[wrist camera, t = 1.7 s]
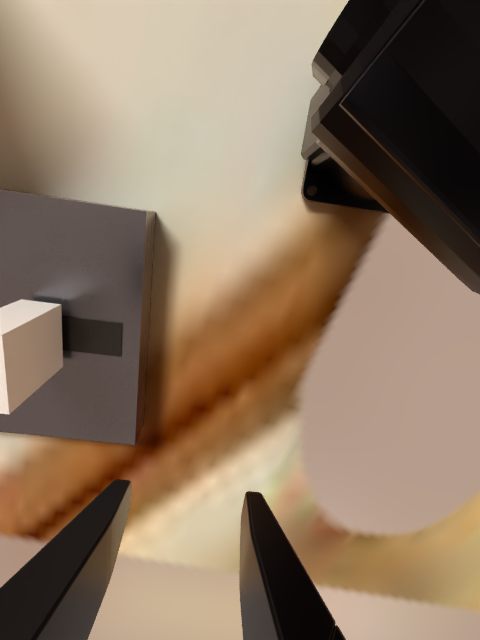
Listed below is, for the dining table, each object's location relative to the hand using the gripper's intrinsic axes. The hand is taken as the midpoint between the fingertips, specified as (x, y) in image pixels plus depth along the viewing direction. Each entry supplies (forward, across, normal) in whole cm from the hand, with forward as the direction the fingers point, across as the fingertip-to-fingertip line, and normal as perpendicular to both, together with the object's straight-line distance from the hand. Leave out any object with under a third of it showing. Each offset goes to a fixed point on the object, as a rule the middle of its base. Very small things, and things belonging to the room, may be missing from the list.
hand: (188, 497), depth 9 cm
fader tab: (+10, +9, 0) cm, 13 cm away
